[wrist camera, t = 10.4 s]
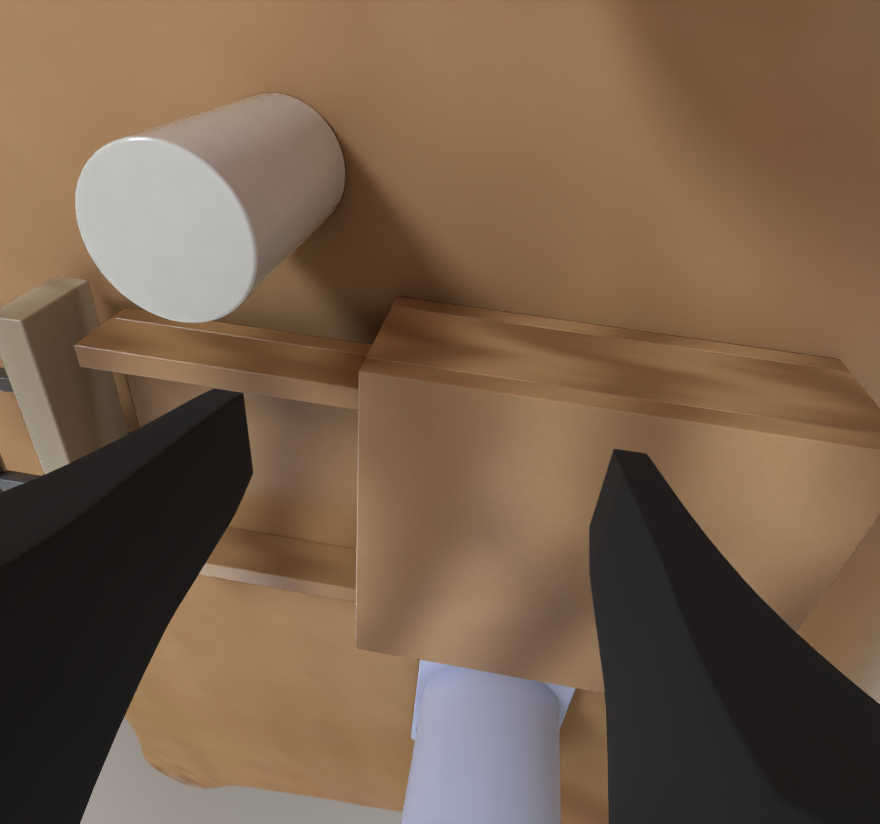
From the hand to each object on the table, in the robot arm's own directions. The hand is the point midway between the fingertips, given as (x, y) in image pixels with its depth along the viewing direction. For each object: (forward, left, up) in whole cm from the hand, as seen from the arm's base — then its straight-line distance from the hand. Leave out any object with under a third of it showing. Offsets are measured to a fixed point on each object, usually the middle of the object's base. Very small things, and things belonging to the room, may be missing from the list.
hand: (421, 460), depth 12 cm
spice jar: (+3, +6, -10) cm, 12 cm away
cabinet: (-7, -5, -10) cm, 13 cm away
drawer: (-7, +10, -9) cm, 15 cm away
